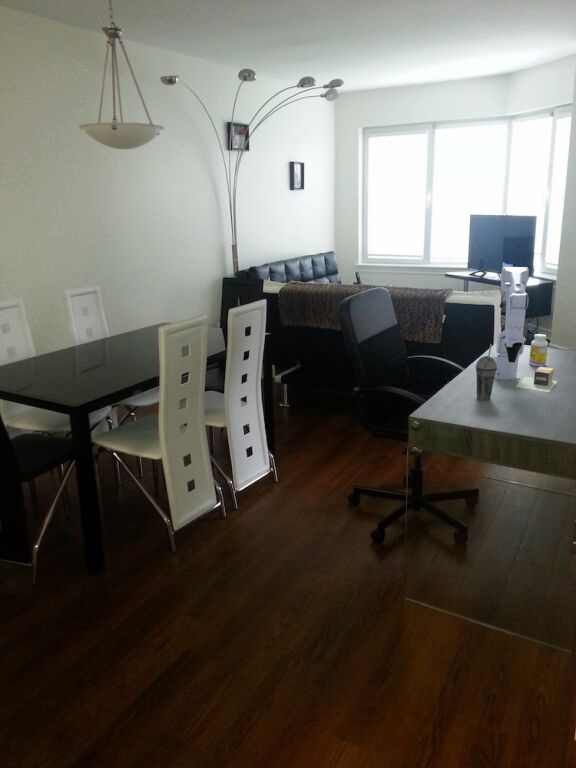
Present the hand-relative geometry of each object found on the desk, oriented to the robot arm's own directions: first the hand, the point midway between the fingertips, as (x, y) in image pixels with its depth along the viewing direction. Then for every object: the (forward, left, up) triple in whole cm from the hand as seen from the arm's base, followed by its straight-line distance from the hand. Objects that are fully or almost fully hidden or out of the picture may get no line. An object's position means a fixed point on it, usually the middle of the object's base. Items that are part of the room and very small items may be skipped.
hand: (511, 361), depth 229 cm
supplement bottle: (+21, +33, -10) cm, 40 cm away
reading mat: (+11, +3, -10) cm, 15 cm away
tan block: (+12, +2, -7) cm, 14 cm away
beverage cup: (-13, -14, -10) cm, 22 cm away
